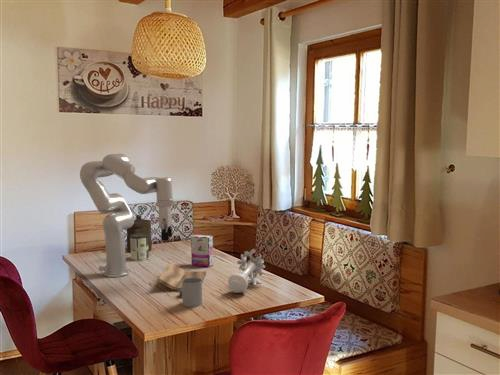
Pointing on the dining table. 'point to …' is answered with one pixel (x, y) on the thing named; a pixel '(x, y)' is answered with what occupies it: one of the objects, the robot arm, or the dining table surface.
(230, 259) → the dining table surface
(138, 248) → the coffee can
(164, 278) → the plank
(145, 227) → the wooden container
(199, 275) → the laid board
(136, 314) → the dining table surface
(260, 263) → the flower vase
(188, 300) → the cup
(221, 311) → the dining table surface
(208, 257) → the candy bar box
